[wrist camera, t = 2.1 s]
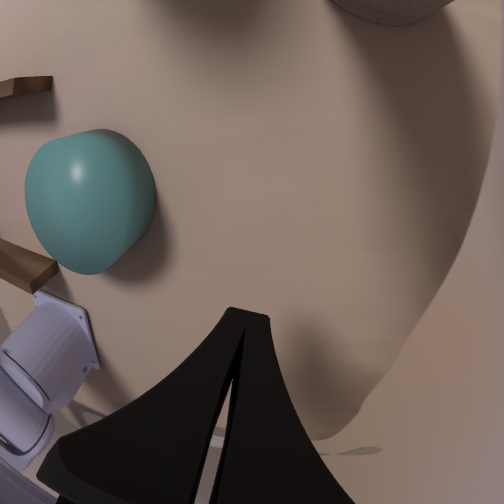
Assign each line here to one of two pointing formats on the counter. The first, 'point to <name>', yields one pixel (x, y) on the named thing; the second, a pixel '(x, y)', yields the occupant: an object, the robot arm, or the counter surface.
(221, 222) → the counter surface
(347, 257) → the counter surface
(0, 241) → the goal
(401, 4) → the thermos bottle
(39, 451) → the robot arm
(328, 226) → the counter surface
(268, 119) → the counter surface
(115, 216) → the teal flat rounded lump
